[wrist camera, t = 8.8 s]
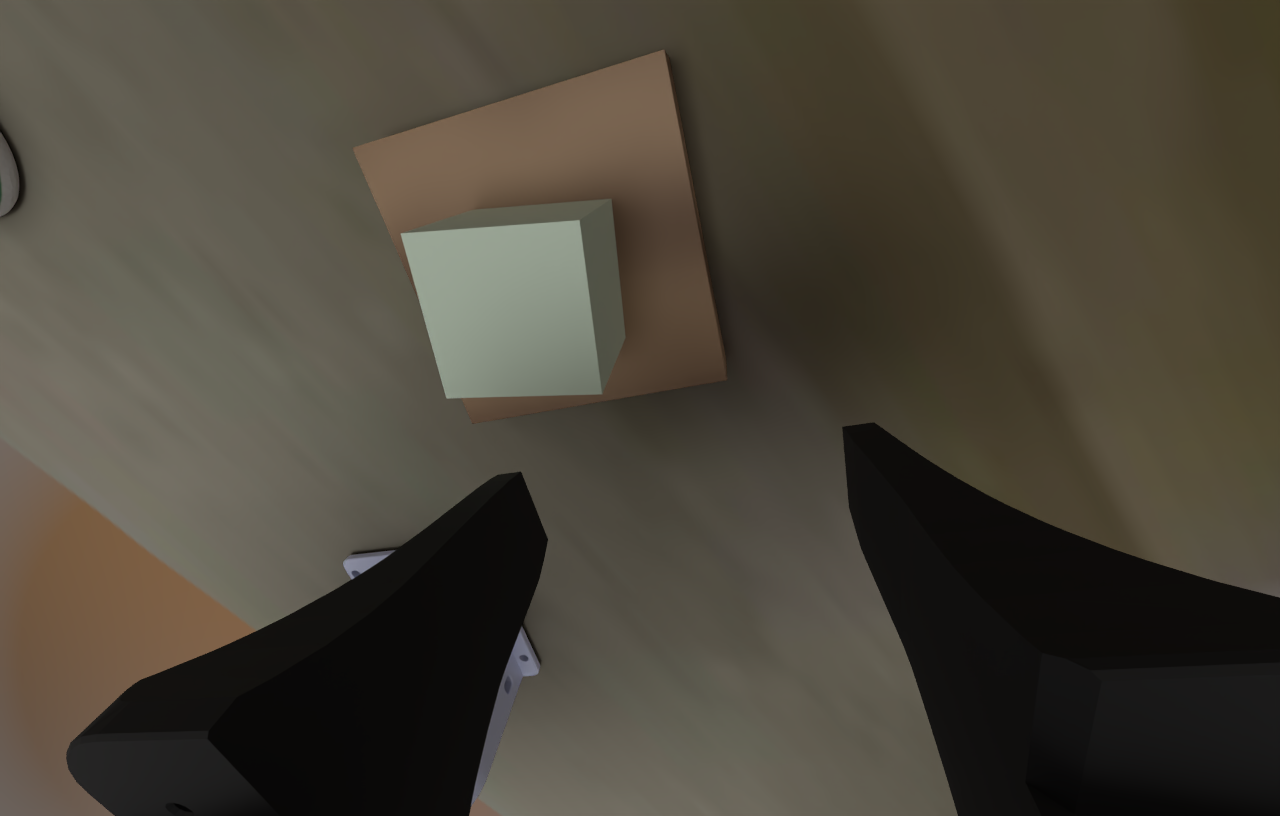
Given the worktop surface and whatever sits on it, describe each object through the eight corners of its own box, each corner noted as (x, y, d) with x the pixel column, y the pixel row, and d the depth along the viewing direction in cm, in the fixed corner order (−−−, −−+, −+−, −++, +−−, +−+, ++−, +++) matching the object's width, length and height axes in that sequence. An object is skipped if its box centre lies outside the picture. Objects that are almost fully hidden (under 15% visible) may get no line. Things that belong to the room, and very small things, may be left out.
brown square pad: (725, 353, 21) (727, 380, 19) (495, 395, 23) (472, 423, 21) (670, 60, 17) (664, 49, 14) (394, 146, 19) (352, 148, 17)
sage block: (625, 337, 18) (602, 394, 14) (501, 342, 19) (446, 398, 15) (611, 198, 16) (579, 220, 12) (473, 209, 17) (400, 233, 13)
